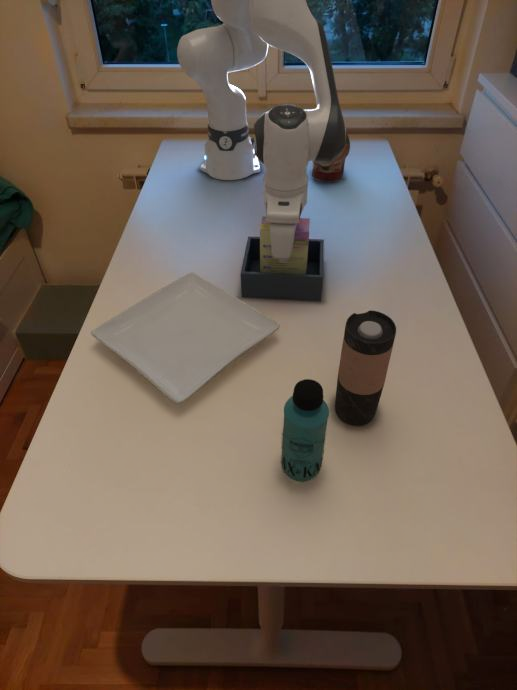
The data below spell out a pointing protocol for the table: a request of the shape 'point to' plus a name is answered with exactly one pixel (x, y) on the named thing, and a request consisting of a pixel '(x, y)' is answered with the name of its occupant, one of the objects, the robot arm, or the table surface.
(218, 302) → the square plate
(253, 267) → the bin
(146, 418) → the table surface
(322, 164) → the decorative planter
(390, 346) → the travel mug
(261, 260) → the box
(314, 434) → the beverage bottle
